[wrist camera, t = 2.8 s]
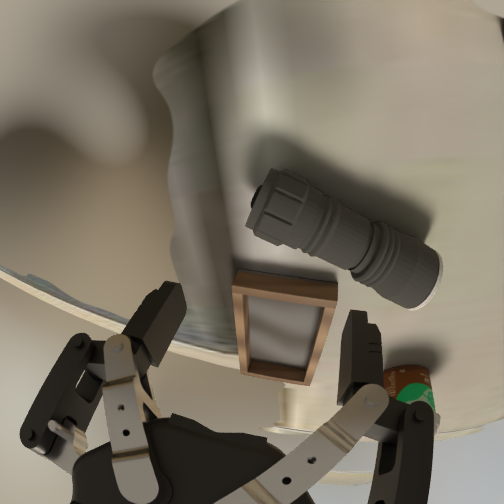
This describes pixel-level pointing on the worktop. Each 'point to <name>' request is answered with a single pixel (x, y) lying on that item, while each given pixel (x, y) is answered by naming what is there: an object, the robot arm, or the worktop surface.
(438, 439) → the worktop surface
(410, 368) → the food container
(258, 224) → the flashlight
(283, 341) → the open wooden frame
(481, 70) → the worktop surface
